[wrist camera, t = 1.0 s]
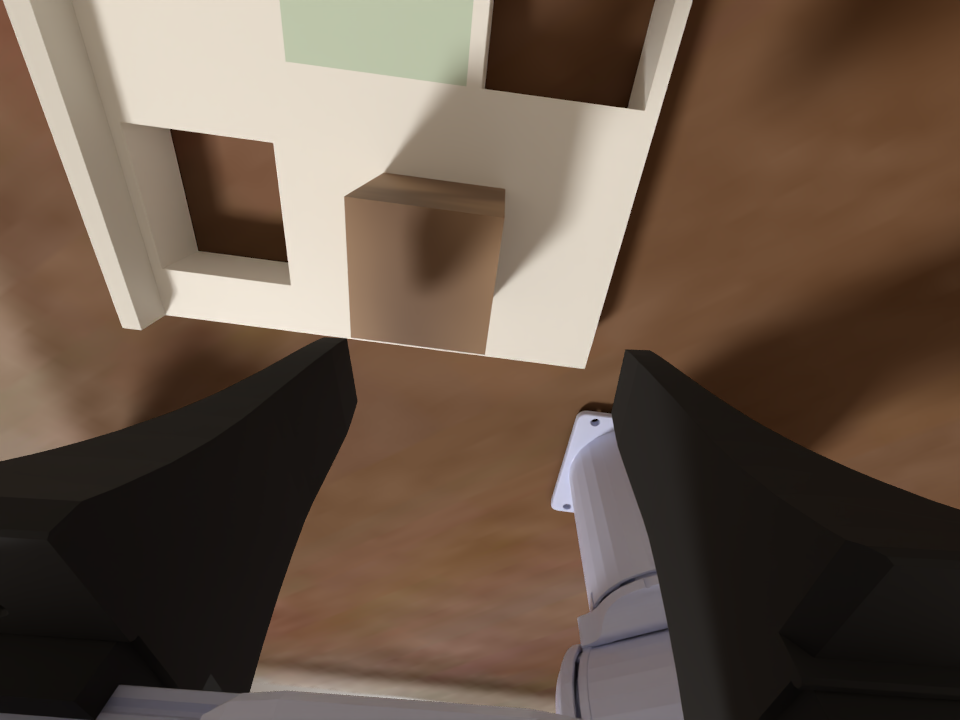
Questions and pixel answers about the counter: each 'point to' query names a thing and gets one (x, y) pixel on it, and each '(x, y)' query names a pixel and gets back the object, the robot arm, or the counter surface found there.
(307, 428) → the robot arm
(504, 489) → the counter surface
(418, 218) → the block
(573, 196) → the board
